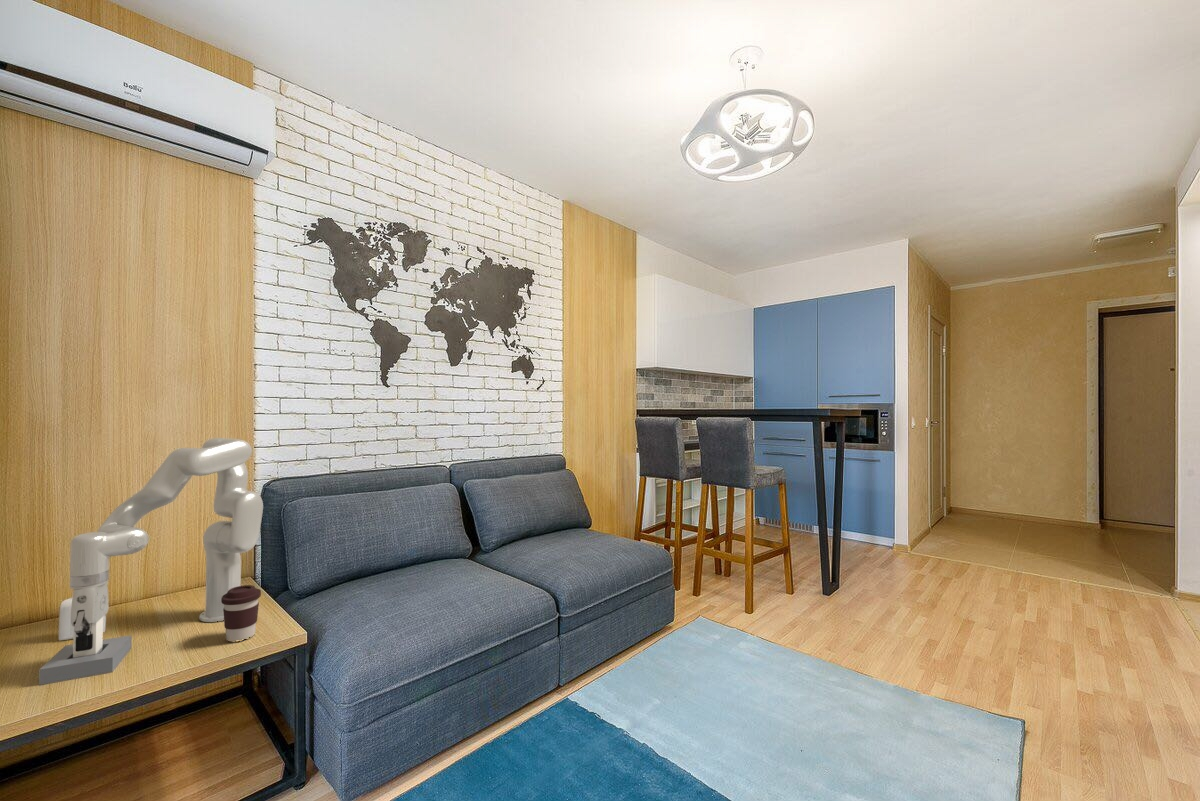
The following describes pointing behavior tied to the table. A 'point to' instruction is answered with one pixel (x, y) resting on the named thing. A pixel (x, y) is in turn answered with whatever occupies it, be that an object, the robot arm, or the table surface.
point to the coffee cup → (240, 612)
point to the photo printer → (69, 620)
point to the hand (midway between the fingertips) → (88, 645)
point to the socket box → (85, 661)
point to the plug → (97, 640)
